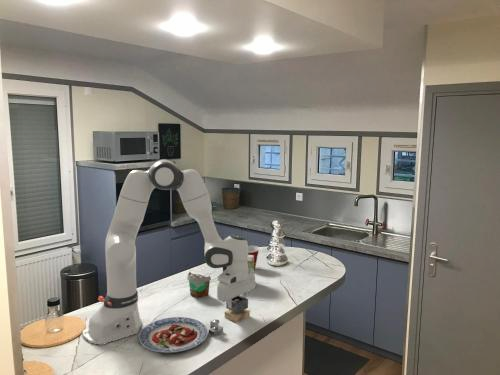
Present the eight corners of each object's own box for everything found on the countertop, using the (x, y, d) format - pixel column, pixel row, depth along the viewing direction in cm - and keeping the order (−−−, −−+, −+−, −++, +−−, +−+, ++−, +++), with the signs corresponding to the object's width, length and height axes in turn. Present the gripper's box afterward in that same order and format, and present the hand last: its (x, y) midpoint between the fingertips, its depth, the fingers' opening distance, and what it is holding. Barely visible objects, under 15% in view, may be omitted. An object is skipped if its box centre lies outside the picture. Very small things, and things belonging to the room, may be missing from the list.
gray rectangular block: (216, 329, 162) (216, 326, 162) (210, 329, 162) (210, 326, 161) (216, 324, 166) (216, 321, 165) (210, 324, 166) (210, 321, 165)
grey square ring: (237, 313, 167) (237, 303, 166) (226, 308, 171) (226, 299, 170) (248, 307, 172) (248, 298, 171) (236, 303, 176) (236, 294, 175)
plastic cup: (237, 266, 232) (237, 246, 230) (255, 264, 235) (255, 244, 233) (243, 273, 222) (243, 251, 220) (261, 271, 225) (262, 250, 223)
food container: (182, 295, 192) (181, 275, 191) (189, 290, 198) (189, 271, 196) (203, 300, 187) (203, 280, 185) (211, 296, 192) (211, 275, 190)
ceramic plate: (177, 315, 173) (177, 309, 172) (221, 336, 157) (221, 329, 156) (125, 340, 153) (124, 332, 153) (169, 366, 137) (169, 358, 137)
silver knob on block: (213, 337, 156) (213, 324, 155) (208, 334, 158) (208, 322, 157) (223, 332, 159) (223, 320, 159) (217, 329, 161) (217, 317, 160)
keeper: (236, 322, 167) (236, 305, 166) (224, 317, 171) (224, 300, 170) (249, 316, 173) (249, 299, 171) (237, 310, 177) (237, 294, 176)
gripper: (248, 265, 179) (247, 294, 181) (214, 277, 163) (214, 310, 166) (259, 268, 175) (258, 298, 177) (225, 282, 159) (225, 315, 162)
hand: (237, 304), depth 171 cm, fingers closed on grey square ring, 6 cm apart
